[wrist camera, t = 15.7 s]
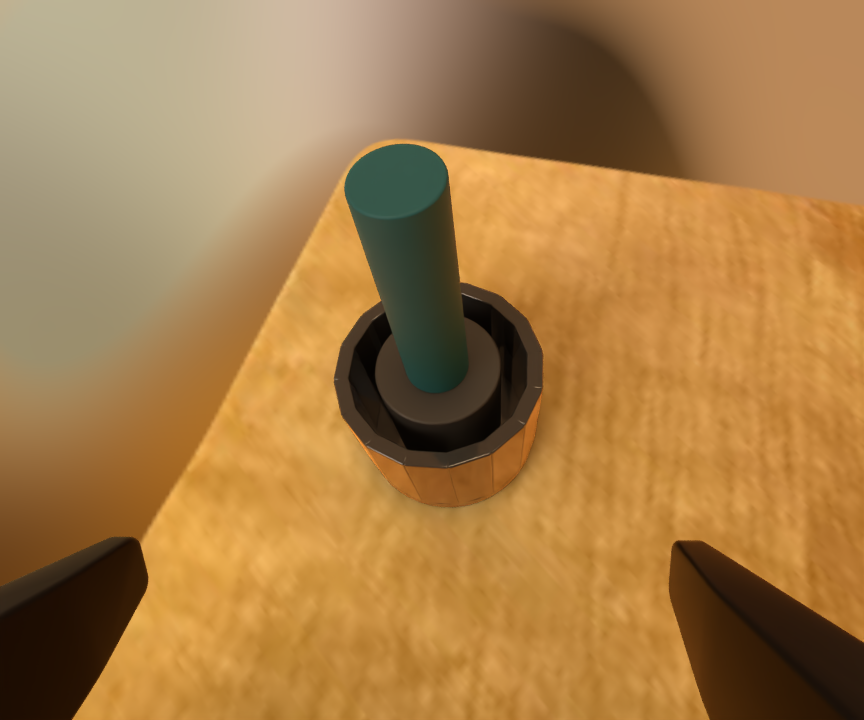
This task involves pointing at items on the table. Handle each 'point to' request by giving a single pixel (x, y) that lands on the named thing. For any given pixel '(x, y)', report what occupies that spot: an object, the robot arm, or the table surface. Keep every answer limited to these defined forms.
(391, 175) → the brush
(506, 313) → the tumbler
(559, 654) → the table surface
